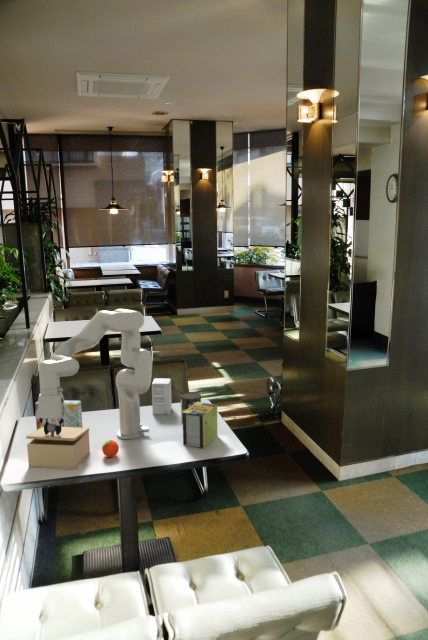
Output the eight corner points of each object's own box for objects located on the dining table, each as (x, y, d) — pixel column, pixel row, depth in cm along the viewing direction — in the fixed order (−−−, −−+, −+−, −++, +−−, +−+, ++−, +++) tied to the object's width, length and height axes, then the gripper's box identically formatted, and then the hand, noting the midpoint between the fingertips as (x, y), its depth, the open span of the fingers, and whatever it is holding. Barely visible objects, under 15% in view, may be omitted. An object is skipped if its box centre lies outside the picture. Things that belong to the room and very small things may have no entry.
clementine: (106, 462, 212) (106, 446, 211) (97, 457, 217) (96, 441, 216) (122, 455, 218) (121, 440, 217) (112, 451, 223) (112, 436, 222)
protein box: (217, 435, 238) (217, 404, 236) (203, 448, 225) (203, 415, 222) (197, 432, 243) (197, 401, 240) (182, 444, 229) (181, 412, 226)
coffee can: (205, 423, 253) (204, 396, 251) (186, 427, 248) (186, 400, 246) (195, 417, 262) (194, 390, 260) (177, 421, 257) (176, 394, 254)
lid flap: (89, 430, 220) (89, 415, 220) (74, 440, 204) (74, 425, 204) (44, 428, 223) (44, 413, 222) (26, 438, 207) (26, 422, 206)
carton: (89, 452, 222) (88, 430, 220) (75, 469, 206) (74, 446, 204) (46, 450, 224) (44, 428, 223) (28, 467, 209) (27, 444, 207)
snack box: (83, 429, 247) (81, 400, 244) (79, 434, 241) (77, 404, 239) (41, 428, 249) (39, 399, 246) (36, 433, 244) (33, 403, 241)
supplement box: (154, 407, 276) (154, 378, 273) (171, 407, 276) (171, 378, 273) (152, 414, 266) (151, 383, 263) (169, 414, 266) (169, 383, 263)
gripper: (73, 388, 207) (76, 431, 211) (34, 387, 209) (37, 429, 212) (66, 394, 200) (68, 438, 203) (25, 392, 202) (29, 436, 205)
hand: (52, 433), depth 208 cm, fingers closed on lid flap, 4 cm apart
